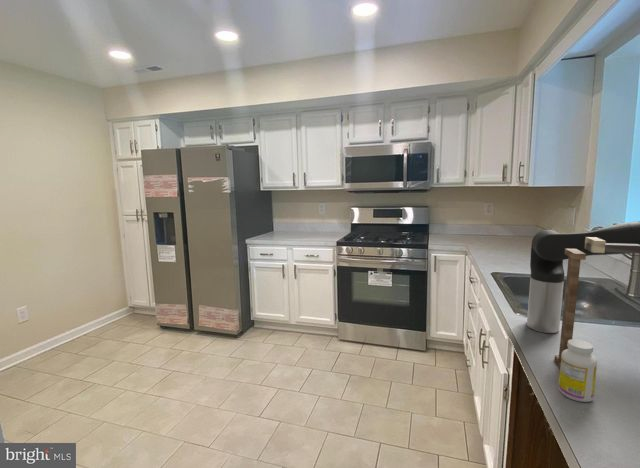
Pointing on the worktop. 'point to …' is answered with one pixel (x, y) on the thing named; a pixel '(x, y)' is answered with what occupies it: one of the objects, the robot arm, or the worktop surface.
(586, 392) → the supplement bottle
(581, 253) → the walnut stand
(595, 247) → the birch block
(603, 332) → the worktop surface
